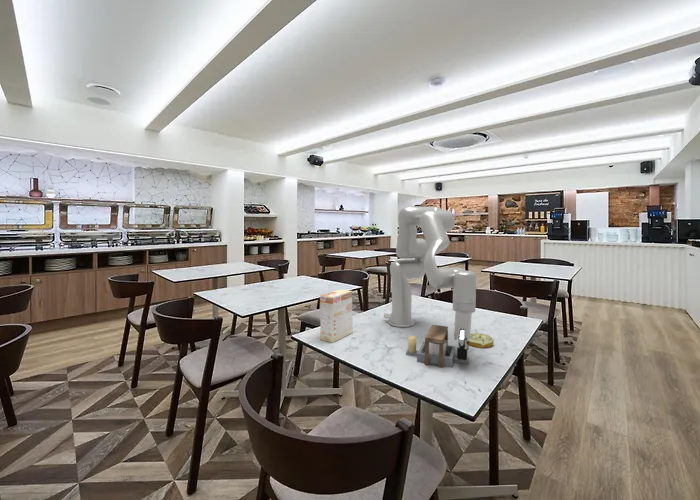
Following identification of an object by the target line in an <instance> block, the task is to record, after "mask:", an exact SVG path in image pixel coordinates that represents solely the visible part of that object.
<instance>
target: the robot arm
mask: <svg viewBox="0 0 700 500" xmlns="http://www.w3.org/2000/svg"><path fill="white" fill-rule="evenodd" d="M455 219H456V218H455V217H454V215H453V212H451V211H449V210H447V209H443V208H440V207H436V206H421V205H420V206H419V205H418V206H416V205H415V206H413V205H411V206H404V207H401V209H399V212H398V215H397V223H398V232H397V233H398V234H397V241H396V247H395V254H396V256H397V257H398V258H399V259H397V260H393V262H391V263H390V265H389V272H390V280H391V313H385V312H384V314H383V318H384V319H388V324H389V325H390V326H392V327H396V328H408V327H409V328H410V327H413V326H414V325H415V320H413V319H412V302H413V301H412V295H413V294H412V286H411V284H410V282H409V281H408V280H411V279H415V280H417V279H421V278H423V277H424V276H426V279H427V282H428V283H429V285H430V286H431V287H432V288H433V289H436V290H443V289H452V311H454V312H455V314H454V331H453V332H454V333H453V335H454V336H453V339H454V340H455V341H456V340H457V348H456V356H457V359H460V360H467V358H468V350H469V346H470V345H469V337H470V333H471V329H472V314H473V313H475V312H476V307H477V306H476V305H477V303H476V300H477V295H476V294H477V275H476V273H475V272H474V271H472V270H465V268H461V267H459V266H458V267H438V266H437V263H436V259H435V258H436V255H437V254H438V253H440V252H442V251H444V250H446V249H447V248H448V247H449V246H450V242H451V241H450V239H449V236H448V233H447V232H449V231H451V230H452V229H454V227H455V223H456V222H455V221H456V220H455ZM418 226H420V228H421V231H422V234H423V236H424V238H417V235H418V229H417V227H418ZM467 344H468V350H467V348H466V347H467Z"/></svg>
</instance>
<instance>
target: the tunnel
mask: <svg viewBox="0 0 700 500" xmlns="http://www.w3.org/2000/svg"><path fill="white" fill-rule="evenodd" d="M448 336H449V326H447V325H439V324H438V325H436V324H431V326H430V328H429V329H428V331H427V333H426V335H425V337H424V342H425V352H424V353H425V363H424V366H429V365H430V364H429V342H437V343H439V365H438V368H443V367H444V366H443V342H444V339H445V340H446V341H447V344H446V345H449V344H448V343H449V341H448V340H449V337H448Z"/></svg>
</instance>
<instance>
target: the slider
mask: <svg viewBox="0 0 700 500" xmlns="http://www.w3.org/2000/svg"><path fill="white" fill-rule="evenodd" d="M407 337H408V338H407V344H408V345H407V346H408V347H407V349H406V352H405V355H406V356H413V357H414V356H415V357H416V362H418V363H424V364H425V341H423V342H422V343H421V345H420V347H419V348H418V350H417V336H416V335H409V336H407ZM466 348H467V351H469V349H468V344H467V347H466ZM456 349H457V348H456V345H451V344H448V345H446V353H445V356H443V367H450V368H453V366H454V363H458V364H463V365H464V364H465V365H469V362H470V358H469V357H467V360H460V359H457V355H456ZM446 355H449V356H446ZM430 364H431V365H436V366H437V365H438V366H439V355H432V354H429V365H430Z"/></svg>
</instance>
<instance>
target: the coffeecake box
mask: <svg viewBox="0 0 700 500" xmlns="http://www.w3.org/2000/svg"><path fill="white" fill-rule="evenodd" d="M319 314H320V315H319V317H320V318H319V319H320V322H319V323H320V340H322V341H325V342H328V343H335V342H337V341H339V340H341V339H343V338H346V337H348V336H349V335H352V334H353V333H354V332H353V290H348V289H341V288H340V289H337V290H333V291H330V292H326V293H324V294H320V295H319Z"/></svg>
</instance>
